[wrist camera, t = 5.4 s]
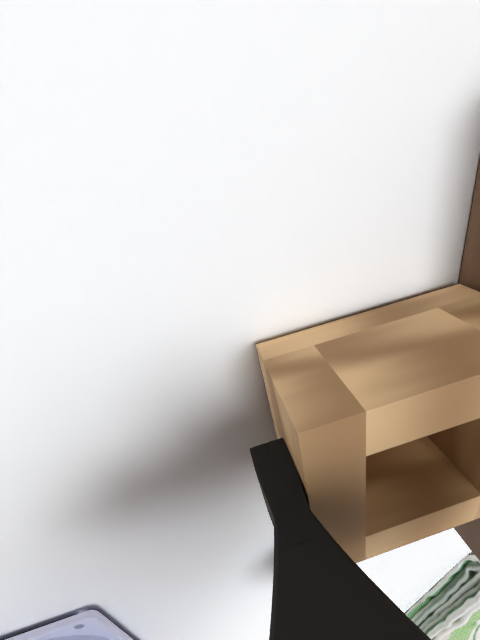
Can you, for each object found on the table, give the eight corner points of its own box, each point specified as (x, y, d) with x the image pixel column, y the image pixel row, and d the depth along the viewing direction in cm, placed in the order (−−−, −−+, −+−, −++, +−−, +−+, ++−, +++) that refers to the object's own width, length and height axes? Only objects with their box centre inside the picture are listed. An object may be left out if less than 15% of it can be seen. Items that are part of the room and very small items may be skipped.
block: (285, 476, 14) (321, 575, 11) (255, 344, 10) (297, 433, 7) (434, 426, 15) (514, 505, 11) (459, 283, 11) (592, 337, 7)
